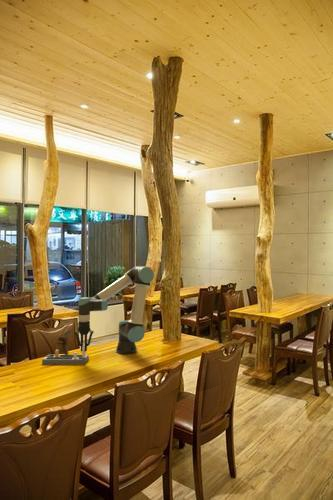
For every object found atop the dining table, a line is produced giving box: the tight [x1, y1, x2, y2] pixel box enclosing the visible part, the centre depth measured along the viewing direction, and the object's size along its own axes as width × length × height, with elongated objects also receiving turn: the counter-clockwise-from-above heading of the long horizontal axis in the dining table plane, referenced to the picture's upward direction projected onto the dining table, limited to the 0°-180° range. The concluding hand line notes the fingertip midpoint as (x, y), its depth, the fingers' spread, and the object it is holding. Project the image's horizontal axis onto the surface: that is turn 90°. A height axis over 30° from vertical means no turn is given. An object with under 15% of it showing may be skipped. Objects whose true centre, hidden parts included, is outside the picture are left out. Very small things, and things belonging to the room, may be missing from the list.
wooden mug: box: [55, 330, 72, 355], centre depth 258 cm, size 9×14×18 cm, turn 49°
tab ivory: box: [72, 351, 79, 359], centre depth 237 cm, size 4×3×5 cm
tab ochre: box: [54, 349, 61, 357], centre depth 243 cm, size 4×3×5 cm
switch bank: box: [41, 354, 90, 365], centre depth 240 cm, size 28×12×3 cm, turn 90°
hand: (83, 356), depth 237 cm, fingers closed
